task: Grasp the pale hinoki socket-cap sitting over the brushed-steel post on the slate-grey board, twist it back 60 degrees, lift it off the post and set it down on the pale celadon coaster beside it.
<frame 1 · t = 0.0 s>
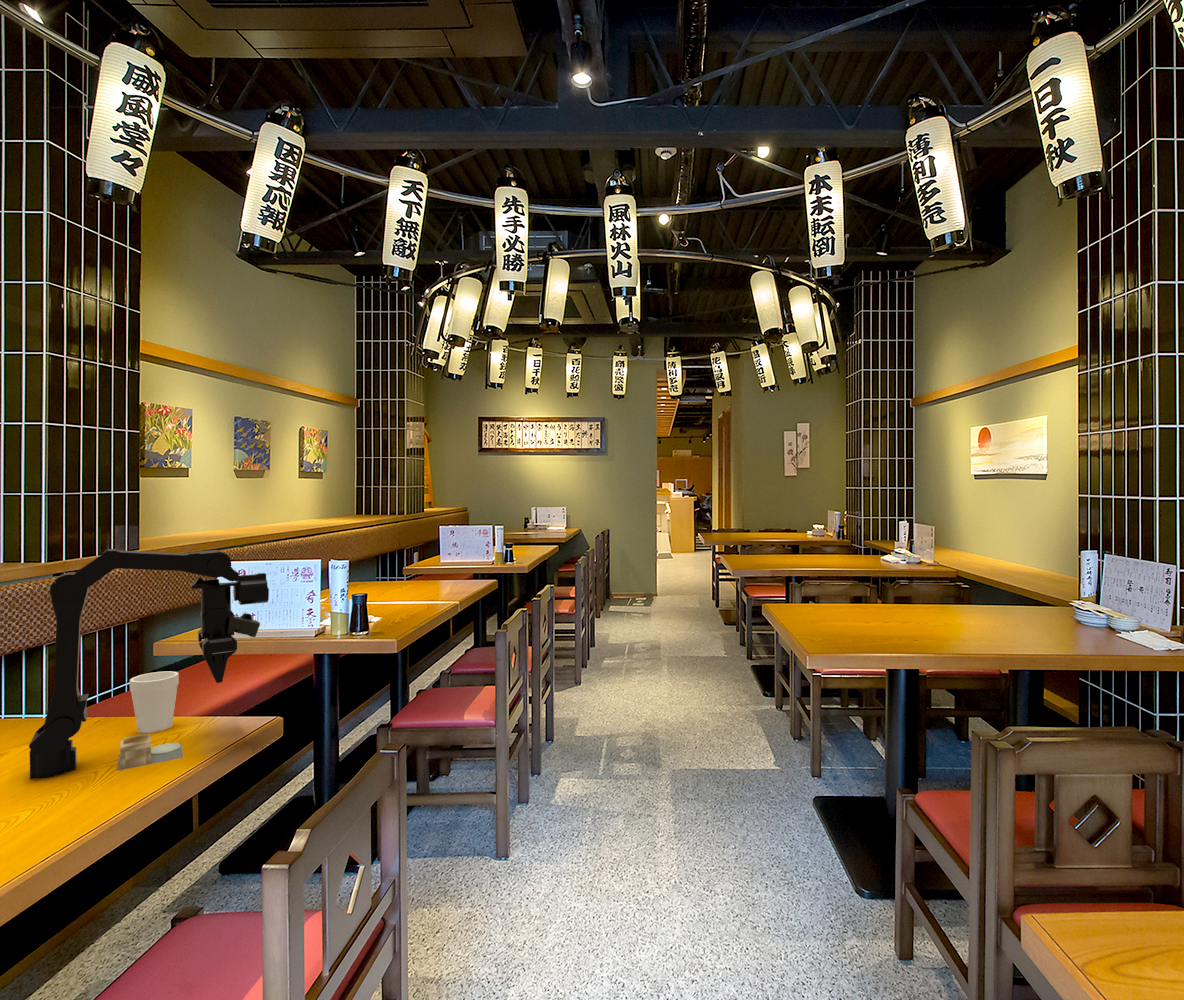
hand: (217, 677, 143), 15 cm above the table, fingers open, 9 cm apart
foam cup: (155, 732, 151), on the table
hinoki cap: (136, 761, 131), point 1 cm above the table, touching lock board
lock board: (150, 760, 134), on the table
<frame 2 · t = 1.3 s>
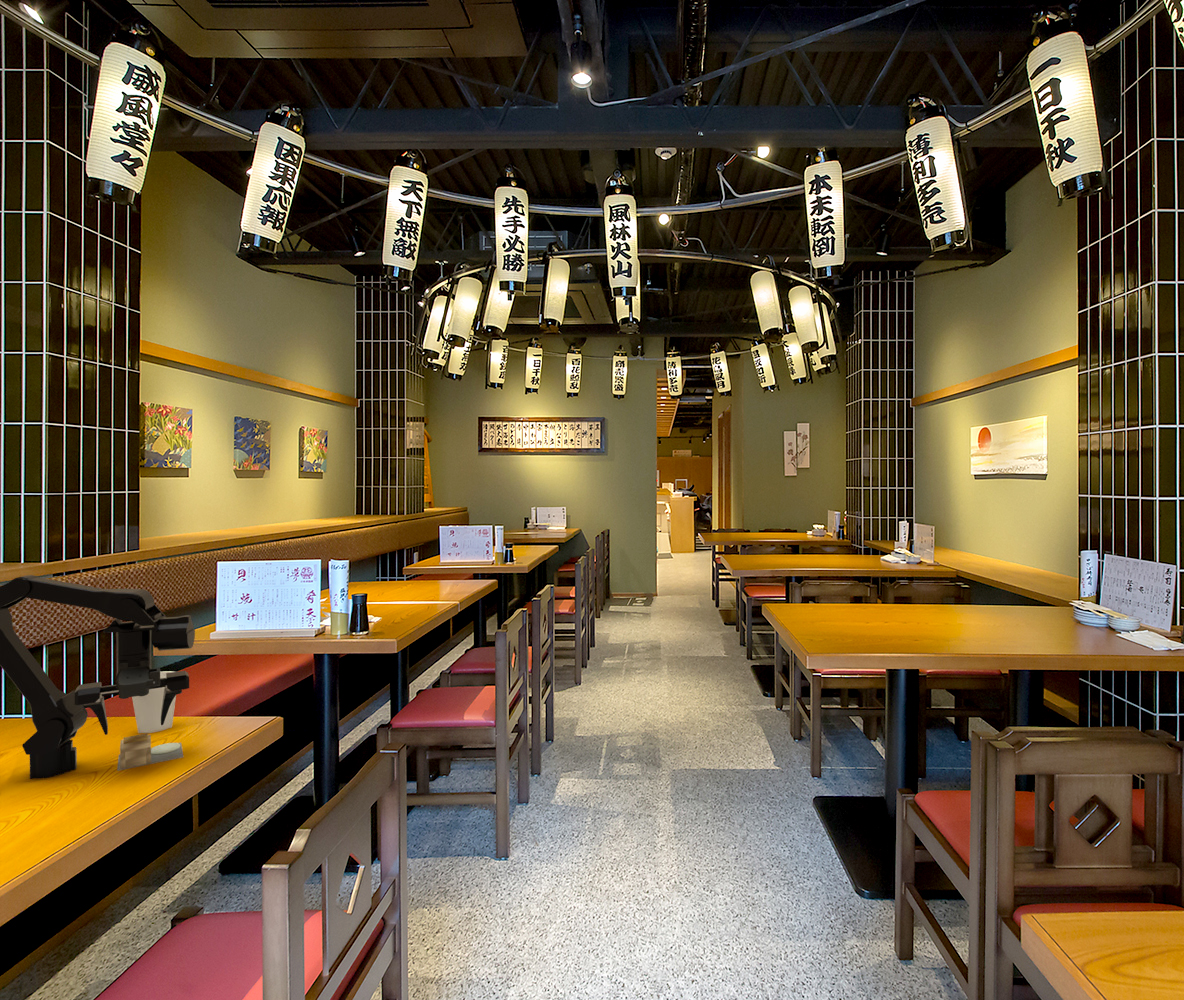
hand: (134, 729, 131), 8 cm above the table, fingers open, 9 cm apart
nothing on the table moved.
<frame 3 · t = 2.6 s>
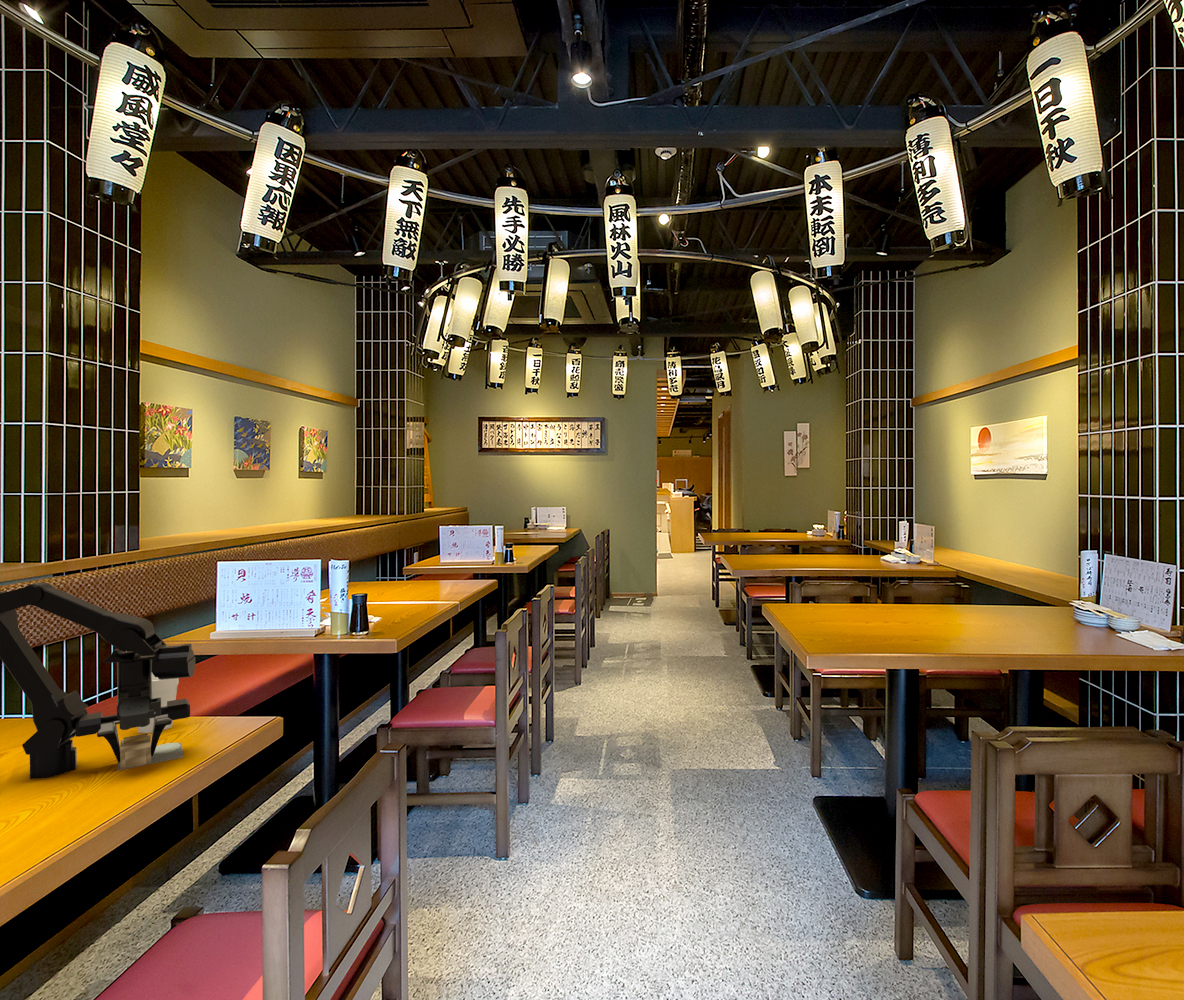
hand: (135, 758, 131), 2 cm above the table, fingers closed on hinoki cap, 5 cm apart
hinoki cap: (136, 761, 131), point 1 cm above the table, touching gripper, lock board
everything else where it was.
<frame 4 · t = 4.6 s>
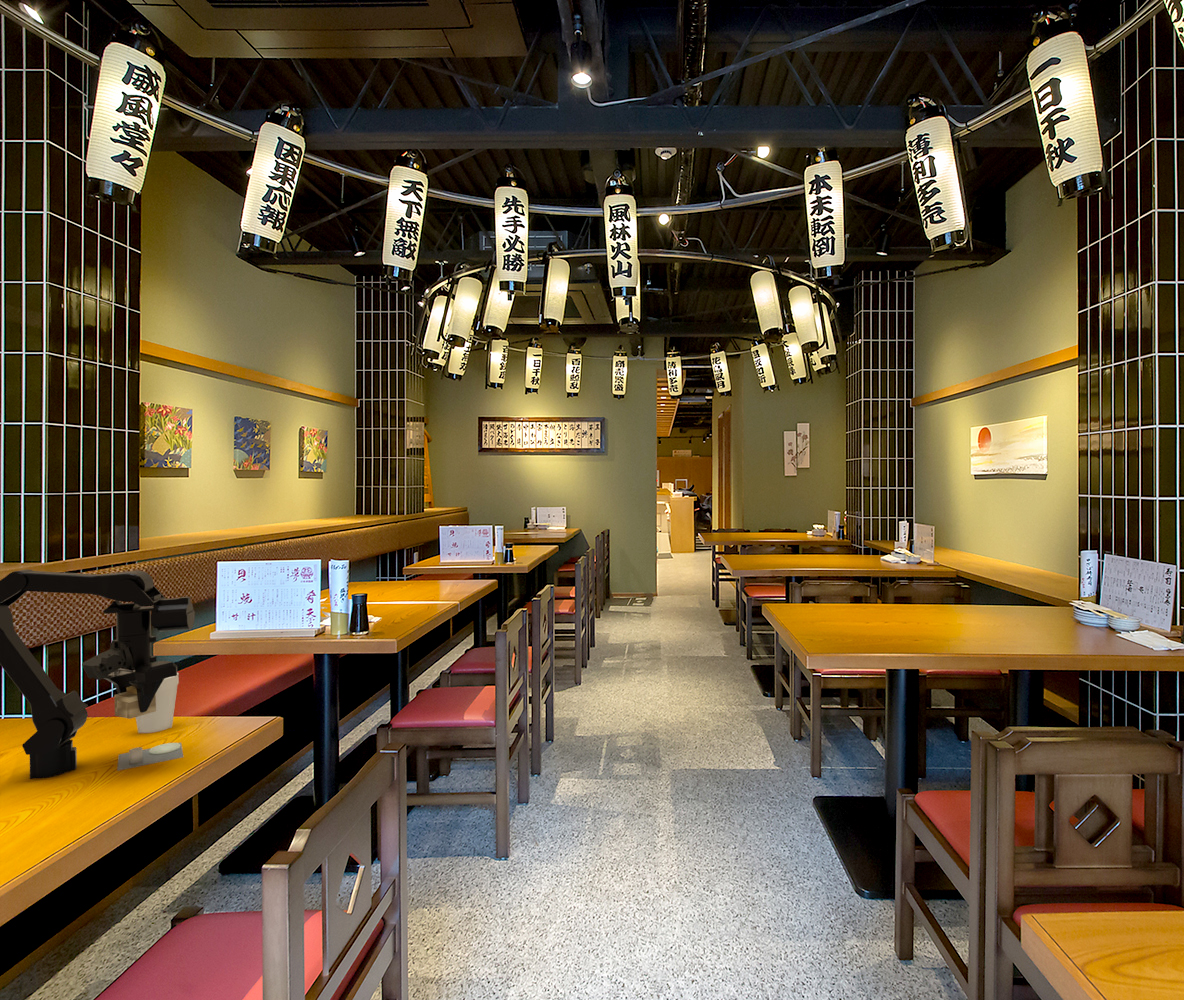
hand: (135, 710, 131), 11 cm above the table, fingers closed on hinoki cap, 5 cm apart
hinoki cap: (135, 713, 131), point 11 cm above the table, touching gripper
everything else where it was.
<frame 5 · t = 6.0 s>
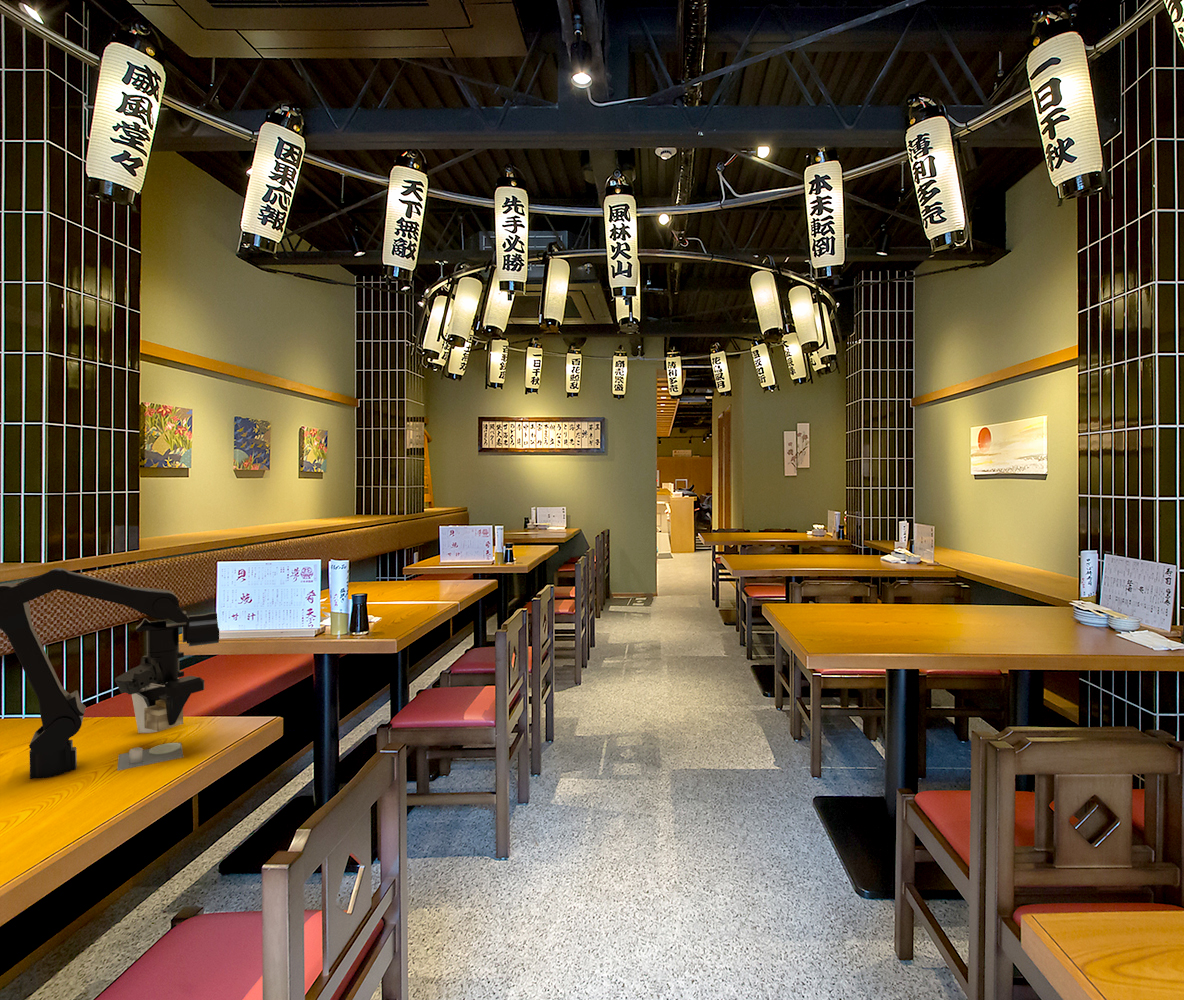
hand: (164, 723, 137), 7 cm above the table, fingers closed on hinoki cap, 5 cm apart
hinoki cap: (164, 725, 137), point 6 cm above the table, touching gripper
everything else where it was.
when the fingers open (3 cm above the table, at t = 7.0 s): hinoki cap drops 1 cm, resting on lock board.
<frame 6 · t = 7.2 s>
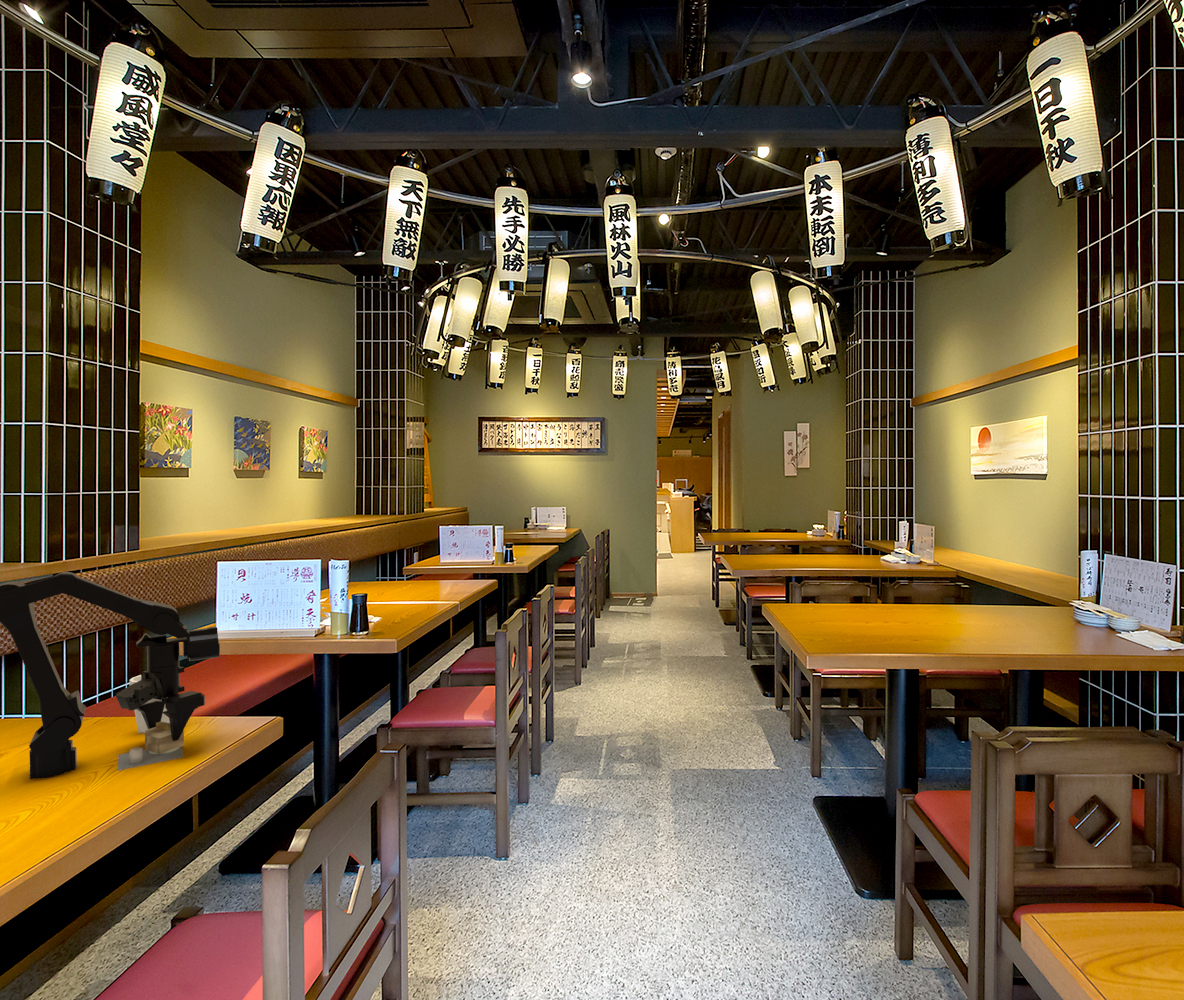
hand: (164, 738, 137), 3 cm above the table, fingers open, 7 cm apart
hinoki cap: (164, 747, 137), point 1 cm above the table, touching lock board
everything else where it was.
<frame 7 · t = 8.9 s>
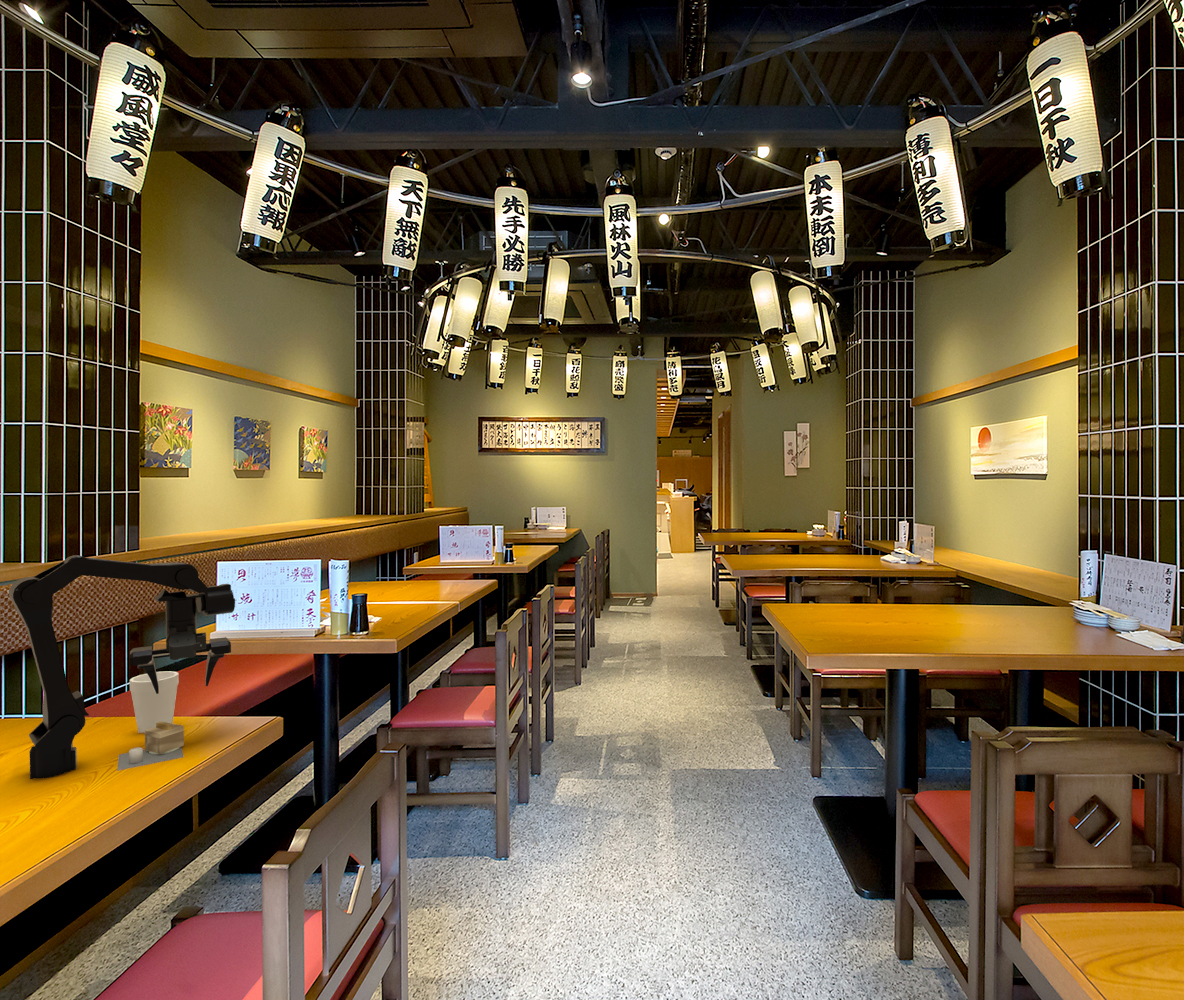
hand: (182, 689, 143), 12 cm above the table, fingers open, 9 cm apart
nothing on the table moved.
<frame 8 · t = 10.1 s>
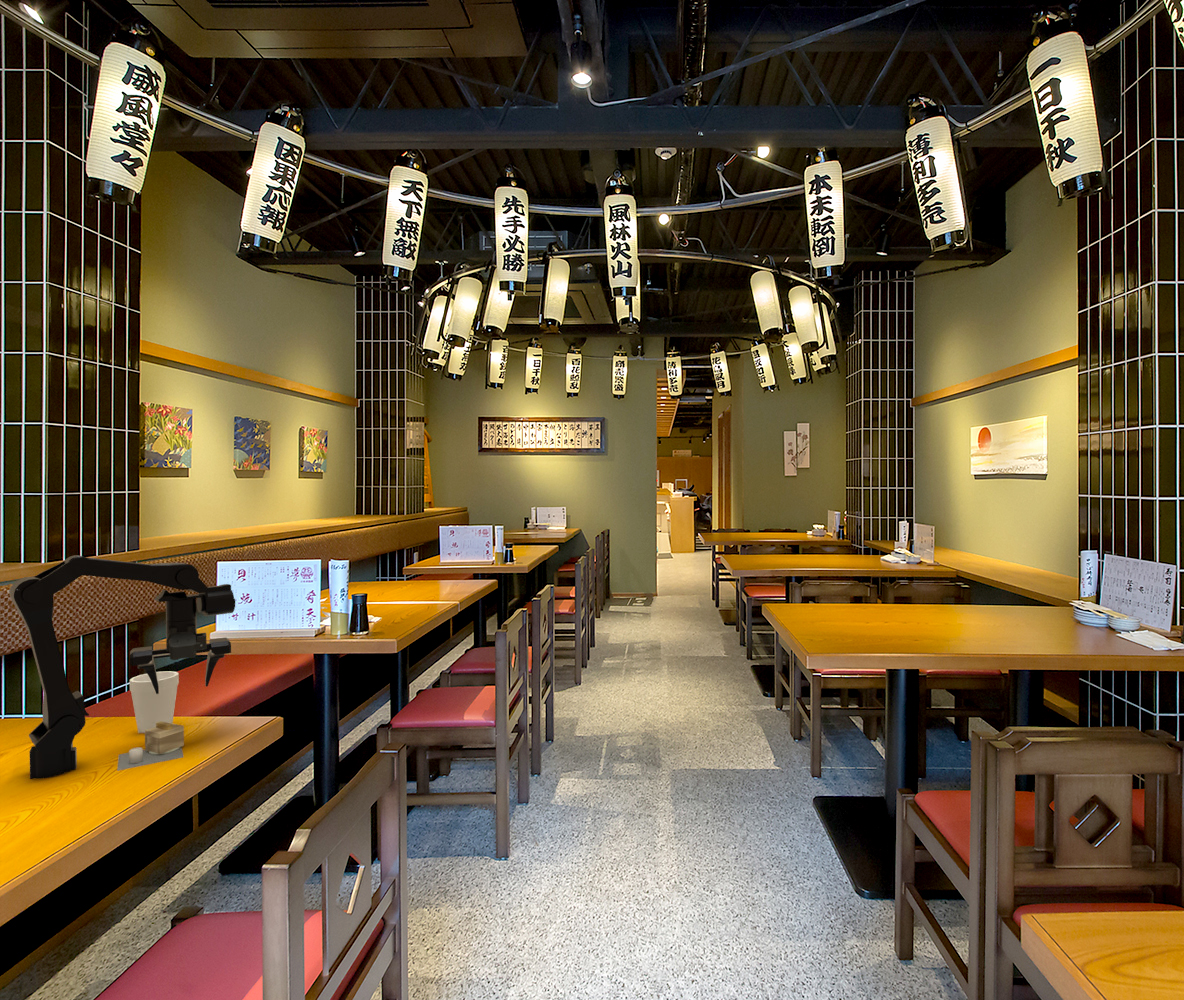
hand: (182, 689, 143), 12 cm above the table, fingers open, 9 cm apart
nothing on the table moved.
at the end: hinoki cap 0.0 cm from the target spot on the lock board, point 1.4 cm above the lock board's base; hinoki cap tilted 0°; the gripper is holding nothing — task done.
